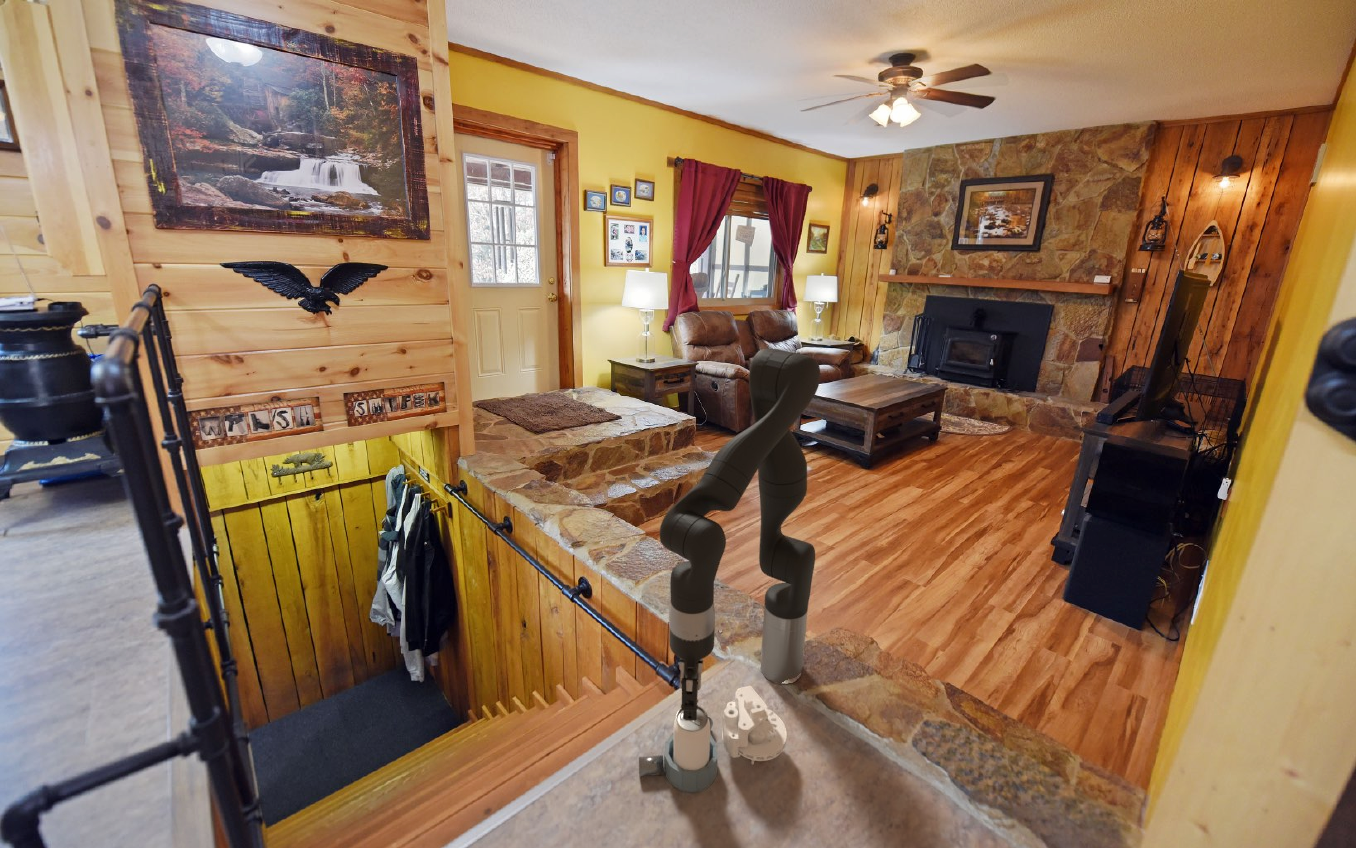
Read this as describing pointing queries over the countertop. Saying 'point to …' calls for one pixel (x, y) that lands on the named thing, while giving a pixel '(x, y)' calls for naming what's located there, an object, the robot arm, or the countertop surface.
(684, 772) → the collar
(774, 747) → the mechanical part
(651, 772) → the shaft
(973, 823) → the countertop surface
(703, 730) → the can
